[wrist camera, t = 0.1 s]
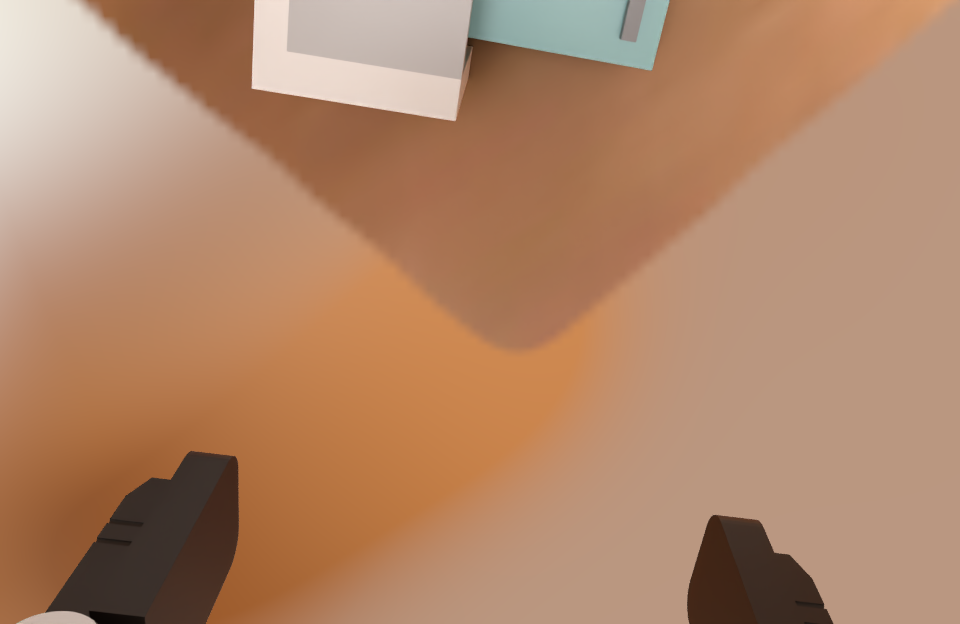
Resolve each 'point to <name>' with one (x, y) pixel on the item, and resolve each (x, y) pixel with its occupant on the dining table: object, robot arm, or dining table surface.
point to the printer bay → (366, 52)
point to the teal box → (575, 27)
